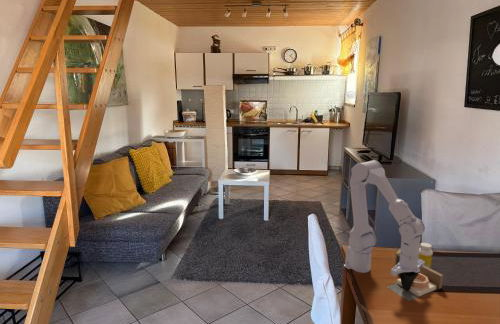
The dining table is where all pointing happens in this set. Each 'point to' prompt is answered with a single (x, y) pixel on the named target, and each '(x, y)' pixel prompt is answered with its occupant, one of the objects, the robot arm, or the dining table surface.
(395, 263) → the dowel
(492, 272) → the dining table surface
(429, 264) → the supplement bottle
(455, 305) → the dining table surface
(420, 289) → the square socket base
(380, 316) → the dining table surface
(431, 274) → the l-shaped bracket
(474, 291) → the dining table surface
